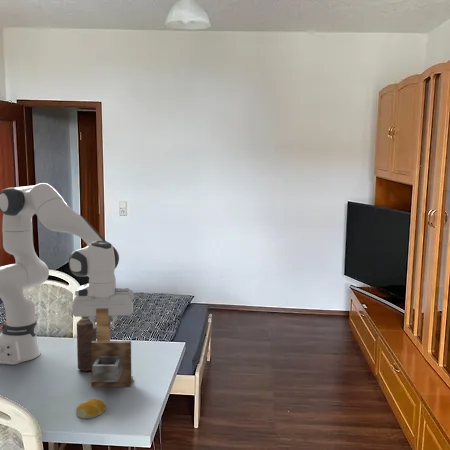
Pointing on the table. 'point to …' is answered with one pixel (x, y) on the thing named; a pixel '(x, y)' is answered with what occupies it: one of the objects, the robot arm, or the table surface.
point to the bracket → (111, 364)
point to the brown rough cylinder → (85, 343)
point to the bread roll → (90, 408)
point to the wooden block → (103, 326)
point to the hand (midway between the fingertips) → (103, 327)
